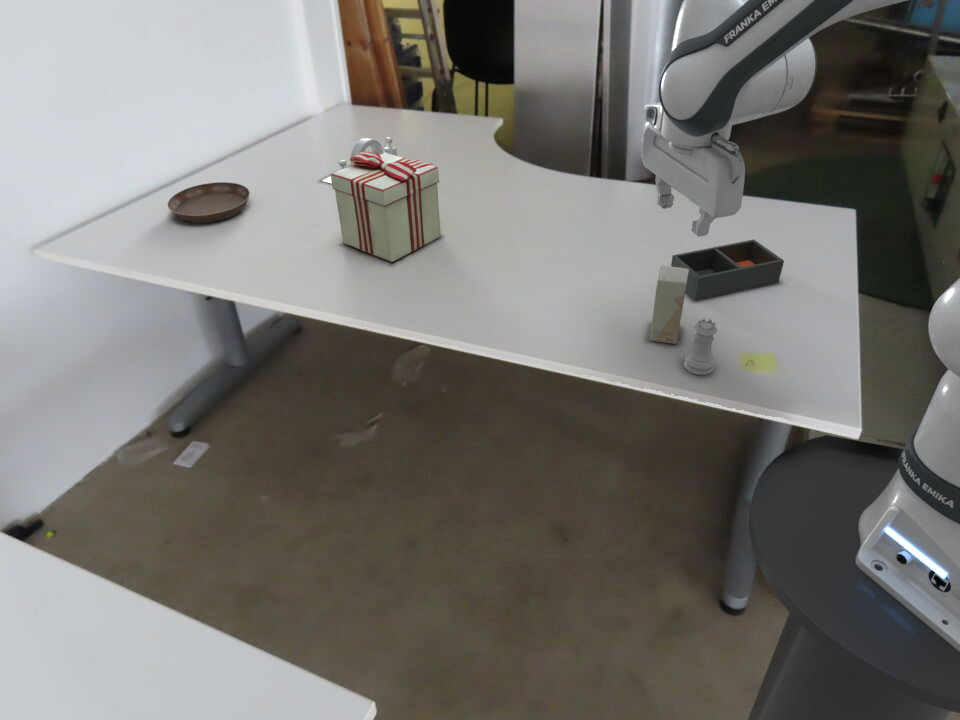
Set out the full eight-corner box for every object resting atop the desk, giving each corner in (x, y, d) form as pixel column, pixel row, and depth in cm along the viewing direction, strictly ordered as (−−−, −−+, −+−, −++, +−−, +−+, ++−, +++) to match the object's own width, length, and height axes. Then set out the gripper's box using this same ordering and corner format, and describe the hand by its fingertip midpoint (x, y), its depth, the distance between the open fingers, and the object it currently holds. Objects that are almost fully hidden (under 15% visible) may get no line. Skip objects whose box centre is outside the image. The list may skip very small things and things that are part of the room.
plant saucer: (267, 207, 158) (264, 194, 156) (196, 234, 148) (191, 221, 146) (227, 188, 168) (223, 175, 167) (157, 212, 158) (153, 199, 156)
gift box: (454, 229, 146) (449, 148, 136) (397, 266, 134) (387, 180, 124) (391, 211, 154) (382, 134, 144) (333, 245, 142) (318, 163, 132)
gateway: (346, 186, 166) (341, 153, 161) (338, 184, 167) (333, 151, 162) (397, 159, 179) (394, 128, 174) (390, 158, 180) (387, 127, 175)
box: (676, 345, 110) (686, 284, 103) (648, 340, 111) (656, 280, 105) (679, 327, 114) (689, 267, 107) (653, 323, 115) (661, 263, 109)
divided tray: (778, 283, 124) (784, 260, 121) (695, 300, 120) (698, 278, 118) (749, 260, 131) (753, 239, 128) (669, 277, 127) (672, 255, 124)
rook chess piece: (695, 355, 108) (703, 311, 103) (720, 368, 105) (729, 323, 100) (677, 367, 106) (684, 322, 101) (701, 380, 103) (710, 335, 98)
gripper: (767, 145, 84) (743, 248, 92) (678, 97, 99) (665, 189, 108) (720, 153, 82) (701, 256, 91) (638, 103, 98) (628, 195, 106)
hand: (681, 219), depth 99 cm, fingers open, 8 cm apart
